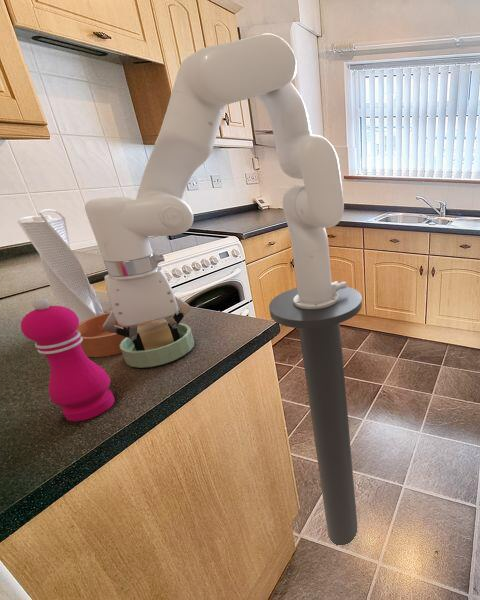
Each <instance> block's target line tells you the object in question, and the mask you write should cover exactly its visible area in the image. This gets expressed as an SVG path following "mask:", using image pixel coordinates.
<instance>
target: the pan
mask: <svg viewBox="0 0 480 600" xmlns="http://www.w3.org/2000/svg"><path fill="white" fill-rule="evenodd" d="M110 313H111V311H109V312H105V313H104V314H101V315H98V316H94V317H92V318H89V319H87V320H85V321H83V322H81V323H79V326H78V328H77V330H76V331H78V332H80V336H81V337H82V338H83V340H82V342H81V346H82V349H83V351H84V353H85V355H86V356H87V357H88V358H102V357H109V356H113V355H118V354H122V352H121V349H120V343H121V342H122V340H124V339H125V338H126V337H124V336H121V335H118V334H117V333H111V332H107V331H104V330H103V325H104V323H105V321H106V319H107V318H108V316H109V314H110ZM154 322H156V320H154V321H150V322H146V323H142V324H138V327H139V326H142V325H146V324H150V323H154ZM114 325H117V326H120V325H119V324H118V322H117V320H116V322H115V324H114ZM125 328H128V327H125ZM137 331H138V330H137Z"/></svg>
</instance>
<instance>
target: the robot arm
mask: <svg viewBox="0 0 480 600" xmlns="http://www.w3.org/2000/svg"><path fill="white" fill-rule="evenodd" d="M297 67H298V64H297V58H296V55H295V52H294V50H293V48H292V47H291V45H290V44H289V43H288V42H287V41H286V39H284V38H282V37H281V36H279V35H277V34H274V33H260V34H257V35H252V36H249V37H245V38H242V39H237V40H233V41H229V42H225V43H219V44H214V45H211V46H206V47H203V48H200V49H198V50H196V51H195V52H193V53H191V54H190V55H188V56H187V57H186V58H184V59H183V60H182V62H181V64H180V65H179V68H178V70H177V74H176V77H175V79H174V80H175V81H174V83H173V87H172V91H171V93H170V97H169V101H168V104H167V108H166V112H165V113H164V117H163V121H162V124H161V127H160V130H159V132H158V136H157V137H156V140H155V142H154V145H153V149H152V151H151V153H150V156H149V158H148V160H147V162H146V165H145V168H144V170H143V174H142V177H141V180H140V184H139V187H138V191H137V195H136V197H135V199H134V198H131V197H126V196H112V197H111V196H110V197H100V198H93V199H89V200H88V201H86V202H85V204H84V211H85V214H86V216H87V219H88V220H87V221H88V223H89V225H90V227H91V230H92V233H93V236H94V238H95V241H96V244H97V246H98V249H99V252H100V255H101V258H102V260H103V262H104V263H103V264H104V265H105V268H106V271H107V273H108V274H106V275H104V284H105V291H106V294H107V297H108V300H109V304H110V307H111V311H110V312H111V313H110V314H109V316H108V318H107V319H106V321H105V323H104V325H103V330H104V331H107V332H111V333H117V334H118V335H121V336H124V337H127V338H130V339H131V340H132V341H133V344H134V346H135V349H136V351H144V350H145V349H144V346H143V343H142V340H141V338H140V335H139V334H138V332H137V327H138V324H142V323H146V322H150V321H154V320H155V321H157V320H158V321H159V320H160V319H161V320H162V319H164V320H165V321H166V323H168V326H169V328H170V331H171V334H172V337H173V340H174V342H175V341H177V340H179V339H180V336H179V333H178V329H177V327H178V324H179V323H181V322H182V320H183V319H184V317H185V316H186V315H187V314H188V313H189V312H190V310H191V308H192V306H191V305H190V304H189V303H187V302H186V301H184V300H182V299H181V298H178V297H177V296H175V293H174V291H173V288H172V286H171V283H170V282H169V280H168V277H167V274H166V272H165V271H164V269H163V267H162V266H160V265H159V264H161V263H162V262H165V256H164V255H163V254H155V253H154V251H153V248H152V245H151V242H150V238H149V237H169V236H170V237H172V236H178V235H181V234H184V233H185V232H187V231H189V230H190V228H191V227H192V226H193V223H194V219H195V218H194V211H193V209H192V208H191V206H190V205H189V204H188V203H187V202H186V201H185V200H183V197H184V194H185V191H186V189H187V186H188V183H189V181H190V179H191V178H192V176H193V174H194V172H196V171H197V170H198V168H200V167H201V166H202V165H203V164H204V163H205V162H206V161H207V160H208V159H209V157H210V156H211V154H212V152H213V149H214V145H215V142H216V139H217V135H218V134H219V133H218V132H219V130H220V126H221V122H222V119H223V116H224V113H225V110H226V107H227V105H230V104H234V103H238V102H241V101H246V100H249V99H252V98H257V99H258V100H259V101H260V103H261V104H262V105H263V107H264V108H265V110H266V112H267V115H268V118H269V122H270V125H271V129H272V134H273V139H274V144H275V148H276V154H277V159H278V164H279V167H280V169H281V170H282V172H283V173H284V174H285V175H286V176H287V177H289V178H293V179H296V180H297V179H298V180H302V181H303V183H299V184H294V185H292V186H290V187H289V188H287V190H286V191H285V193H284V195H283V197H282V210H283V214H284V217H285V221H286V224H287V227H288V232H289V237H290V244H291V251H292V259H293V265H294V266H293V267H294V273H295V281H296V288H297V289H298V294H297V295H296V296H295V297H294V299H293V302H294V305H295V306H297V307H299V308H302V309H321V308H326V307H329V306H331V305H333V304H335V303H336V302H337V301H338V299H339V295H338V293H337V291H338V290H339V289H343V288H346V287H348V284H347V281H342V282H339V281H338V280H336V281H333V279H332V270H331V269H332V268H331V259H330V250H329V249H330V248H329V237H328V233H327V229H330V228H333V227H335V226H336V225H338V224H339V223H340V222H341V220H342V218H343V216H344V210H345V202H344V201H345V200H344V192H343V184H342V176H341V175H342V174H341V167H340V162H339V157H338V154H337V152H336V149H335V148H334V146H333V144H332V143H331V142H330V141H329V140H328V139H327V138H325V137H324V136H322V135H318V134H312V129H311V124H310V120H309V114H308V110H307V106H306V104H305V102H304V101H305V100H303V97H302V95H301V94H300V92H299V90H298V89H297V88H296V86H295V85H294V84H293V83H292V82H293V80H294V79H295V77H296V74H297V70H298V69H297ZM116 320H117V322H118V324H119V325H120V326H117V325H114V324H115V322H116ZM125 327H128V328H125Z"/></svg>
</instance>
